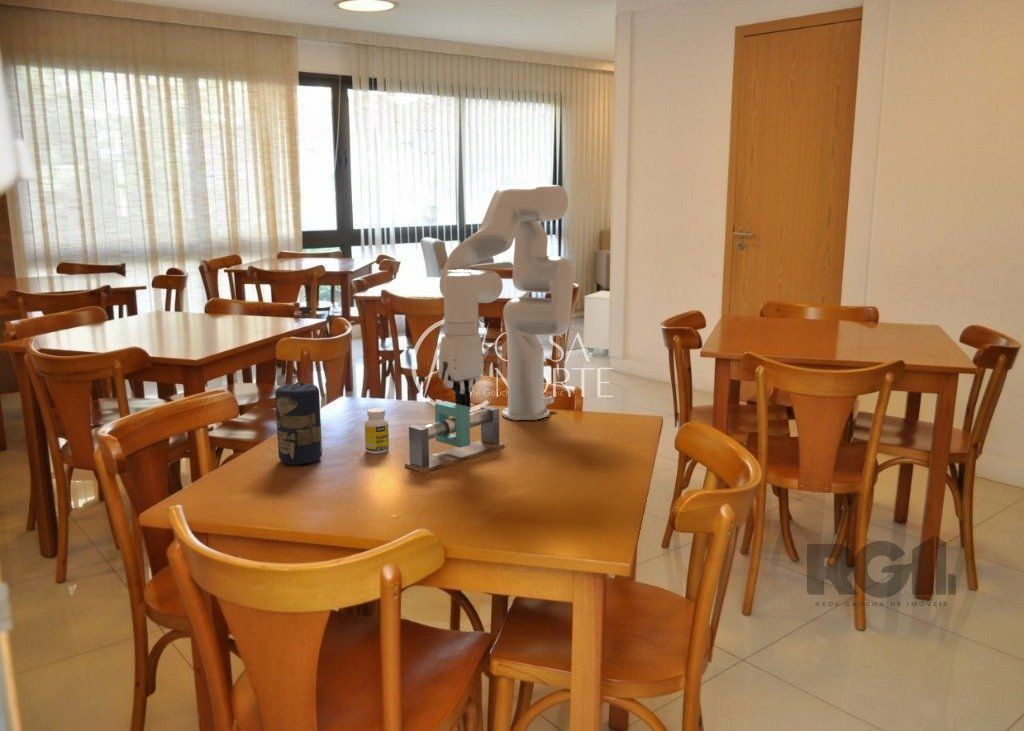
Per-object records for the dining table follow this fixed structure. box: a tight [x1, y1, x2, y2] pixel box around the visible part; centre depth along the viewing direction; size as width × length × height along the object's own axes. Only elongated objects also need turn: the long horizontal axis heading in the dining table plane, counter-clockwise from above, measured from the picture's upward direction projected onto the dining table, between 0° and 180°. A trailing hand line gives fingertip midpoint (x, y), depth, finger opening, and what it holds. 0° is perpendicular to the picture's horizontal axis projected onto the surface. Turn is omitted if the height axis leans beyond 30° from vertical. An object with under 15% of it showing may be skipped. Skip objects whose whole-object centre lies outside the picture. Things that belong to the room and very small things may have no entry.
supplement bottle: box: [364, 407, 390, 455], centre depth 195 cm, size 5×5×10 cm
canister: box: [274, 381, 323, 465], centre depth 187 cm, size 10×10×18 cm
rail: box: [408, 405, 500, 468], centre depth 190 cm, size 24×4×9 cm, turn 137°
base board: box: [404, 439, 506, 474], centre depth 191 cm, size 25×6×1 cm, turn 137°
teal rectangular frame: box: [434, 400, 471, 448], centre depth 189 cm, size 3×8×9 cm, turn 47°
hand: (462, 409), depth 191 cm, fingers closed
